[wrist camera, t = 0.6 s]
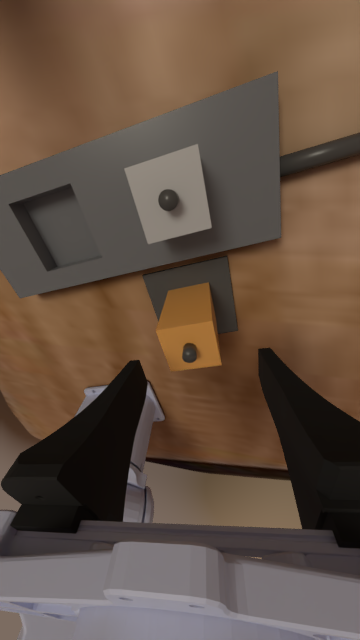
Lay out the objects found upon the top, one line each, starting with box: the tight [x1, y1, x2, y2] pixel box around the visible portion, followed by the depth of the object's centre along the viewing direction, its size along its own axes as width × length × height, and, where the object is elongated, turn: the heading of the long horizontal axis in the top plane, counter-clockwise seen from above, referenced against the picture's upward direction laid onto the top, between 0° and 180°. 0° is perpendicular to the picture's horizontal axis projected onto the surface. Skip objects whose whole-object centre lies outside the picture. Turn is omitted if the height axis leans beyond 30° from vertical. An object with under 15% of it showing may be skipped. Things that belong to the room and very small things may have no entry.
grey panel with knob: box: [0, 71, 360, 298], centre depth 14 cm, size 32×9×7 cm, turn 104°
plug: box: [156, 282, 221, 372], centre depth 18 cm, size 4×4×8 cm
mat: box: [143, 256, 238, 334], centre depth 22 cm, size 8×8×1 cm
